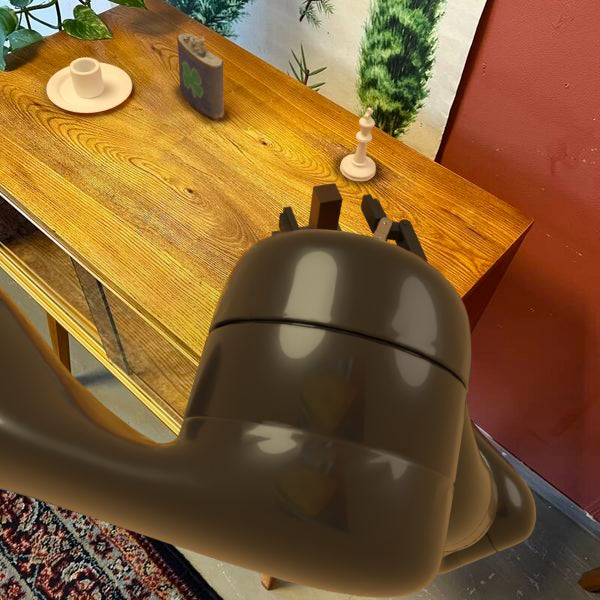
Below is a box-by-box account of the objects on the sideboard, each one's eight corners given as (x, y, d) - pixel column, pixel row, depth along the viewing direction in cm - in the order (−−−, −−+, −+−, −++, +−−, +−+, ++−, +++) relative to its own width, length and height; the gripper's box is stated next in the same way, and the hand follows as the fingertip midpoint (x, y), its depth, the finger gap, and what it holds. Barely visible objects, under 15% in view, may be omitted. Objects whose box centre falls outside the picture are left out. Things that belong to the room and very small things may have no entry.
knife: (307, 297, 77) (321, 204, 65) (300, 277, 79) (312, 184, 67) (327, 293, 78) (344, 201, 66) (319, 274, 79) (334, 180, 68)
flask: (227, 117, 96) (226, 50, 87) (211, 124, 94) (208, 57, 86) (190, 85, 100) (186, 17, 91) (174, 91, 98) (168, 24, 90)
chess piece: (381, 167, 92) (395, 106, 84) (364, 186, 89) (377, 126, 81) (351, 152, 93) (361, 91, 85) (333, 171, 91) (342, 110, 83)
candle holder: (79, 58, 101) (74, 31, 98) (148, 81, 99) (145, 55, 96) (30, 100, 95) (22, 73, 91) (102, 126, 92) (97, 100, 89)
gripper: (465, 293, 58) (397, 168, 67) (309, 325, 54) (259, 189, 63) (444, 341, 64) (383, 220, 73) (301, 372, 60) (257, 242, 69)
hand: (325, 206), depth 68 cm, fingers open, 8 cm apart
